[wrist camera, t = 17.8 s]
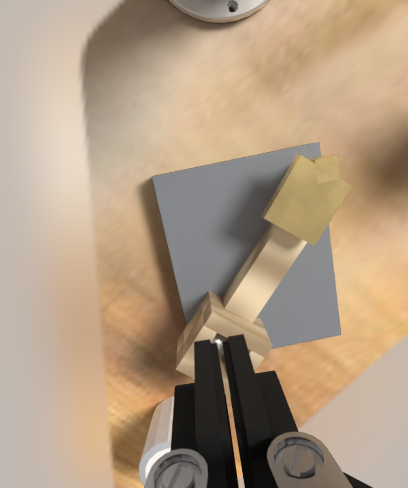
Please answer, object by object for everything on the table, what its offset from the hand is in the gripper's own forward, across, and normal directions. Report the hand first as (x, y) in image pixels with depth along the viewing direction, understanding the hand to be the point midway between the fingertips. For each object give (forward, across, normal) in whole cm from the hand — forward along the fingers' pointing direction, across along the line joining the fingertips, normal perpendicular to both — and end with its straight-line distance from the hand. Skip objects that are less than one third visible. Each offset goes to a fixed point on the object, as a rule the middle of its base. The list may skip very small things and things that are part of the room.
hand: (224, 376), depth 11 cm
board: (+23, -4, +4) cm, 24 cm away
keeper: (+23, -8, -2) cm, 25 cm away
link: (+21, -4, +5) cm, 22 cm away
